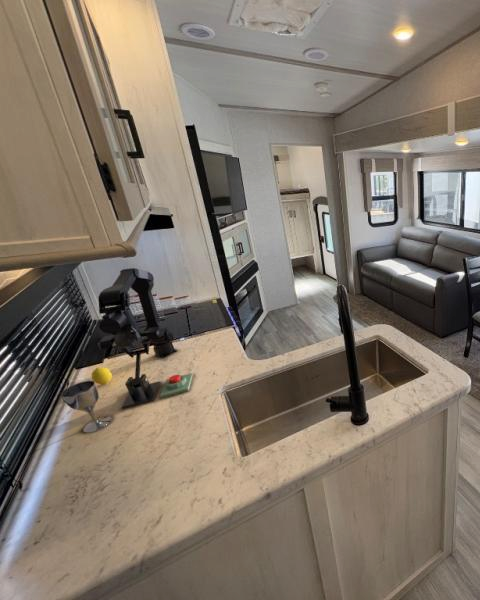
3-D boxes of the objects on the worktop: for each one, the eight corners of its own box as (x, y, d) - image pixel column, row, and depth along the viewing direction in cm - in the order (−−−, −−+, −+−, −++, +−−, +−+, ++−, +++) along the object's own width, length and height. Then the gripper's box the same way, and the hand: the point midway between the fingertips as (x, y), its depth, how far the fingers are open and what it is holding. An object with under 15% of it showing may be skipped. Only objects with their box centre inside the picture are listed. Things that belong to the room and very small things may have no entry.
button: (171, 379, 121) (169, 376, 121) (181, 377, 123) (180, 373, 122) (169, 385, 118) (167, 381, 118) (180, 382, 120) (178, 378, 119)
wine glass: (76, 430, 102) (54, 394, 96) (104, 413, 109) (85, 379, 103) (90, 436, 99) (69, 399, 93) (118, 418, 106) (100, 383, 100)
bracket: (133, 389, 121) (125, 373, 118) (160, 383, 124) (154, 366, 121) (122, 409, 111) (114, 391, 108) (153, 401, 114) (145, 384, 111)
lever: (133, 353, 122) (130, 351, 120) (147, 350, 123) (144, 348, 121) (131, 389, 114) (127, 386, 112) (145, 385, 116) (142, 383, 114)
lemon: (118, 379, 127) (110, 363, 124) (105, 388, 122) (96, 371, 119) (106, 379, 128) (98, 363, 125) (93, 388, 123) (84, 371, 120)
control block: (167, 382, 124) (164, 375, 123) (192, 375, 128) (190, 369, 127) (160, 398, 115) (158, 392, 114) (188, 391, 119) (186, 384, 117)
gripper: (83, 336, 106) (102, 373, 112) (149, 324, 113) (163, 359, 119) (96, 323, 115) (113, 357, 121) (156, 312, 122) (169, 345, 128)
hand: (140, 355), depth 122 cm, fingers closed on lever, 4 cm apart
